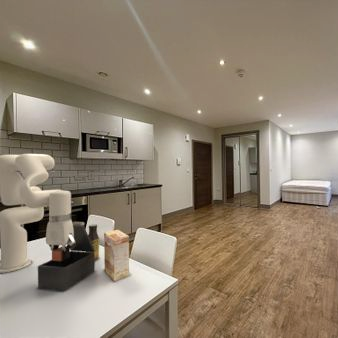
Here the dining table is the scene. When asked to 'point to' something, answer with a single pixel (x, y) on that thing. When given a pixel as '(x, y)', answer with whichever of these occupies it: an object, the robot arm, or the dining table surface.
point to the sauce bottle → (94, 239)
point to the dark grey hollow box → (66, 271)
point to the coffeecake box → (116, 254)
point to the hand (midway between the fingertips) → (60, 257)
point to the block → (57, 254)
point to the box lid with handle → (81, 238)
